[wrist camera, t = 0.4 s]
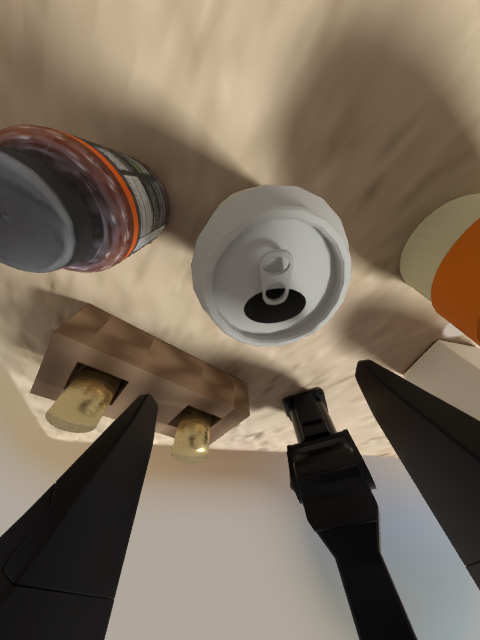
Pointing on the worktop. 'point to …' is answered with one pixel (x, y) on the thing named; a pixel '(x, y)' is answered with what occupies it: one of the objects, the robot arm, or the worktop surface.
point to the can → (271, 265)
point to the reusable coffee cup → (448, 262)
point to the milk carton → (450, 375)
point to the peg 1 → (83, 401)
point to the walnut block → (140, 372)
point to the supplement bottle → (73, 202)
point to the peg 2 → (192, 435)
